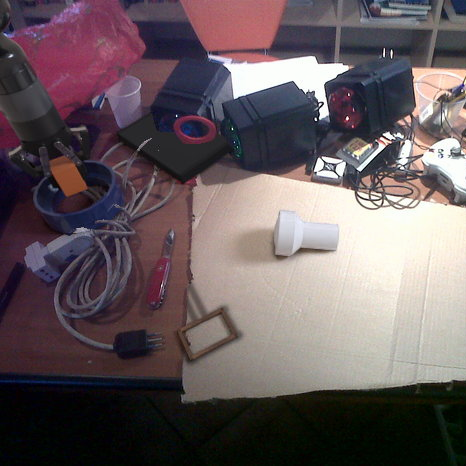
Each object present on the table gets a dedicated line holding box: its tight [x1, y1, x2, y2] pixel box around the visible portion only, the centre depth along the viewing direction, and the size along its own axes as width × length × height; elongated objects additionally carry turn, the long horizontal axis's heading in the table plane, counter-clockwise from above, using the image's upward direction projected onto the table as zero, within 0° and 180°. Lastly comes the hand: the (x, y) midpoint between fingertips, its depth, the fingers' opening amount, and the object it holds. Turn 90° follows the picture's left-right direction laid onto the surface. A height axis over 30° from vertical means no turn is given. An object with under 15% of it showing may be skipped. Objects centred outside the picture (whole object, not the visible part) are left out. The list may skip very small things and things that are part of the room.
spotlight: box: [273, 209, 340, 257], centre depth 86 cm, size 8×11×8 cm
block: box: [49, 155, 88, 198], centre depth 91 cm, size 4×4×6 cm
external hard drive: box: [116, 111, 234, 185], centre depth 108 cm, size 14×23×3 cm, turn 49°
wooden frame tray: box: [176, 306, 239, 362], centre depth 80 cm, size 8×17×2 cm, turn 30°
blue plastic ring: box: [32, 159, 125, 235], centre depth 96 cm, size 15×15×6 cm
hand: (72, 182), depth 92 cm, fingers closed on block, 4 cm apart
